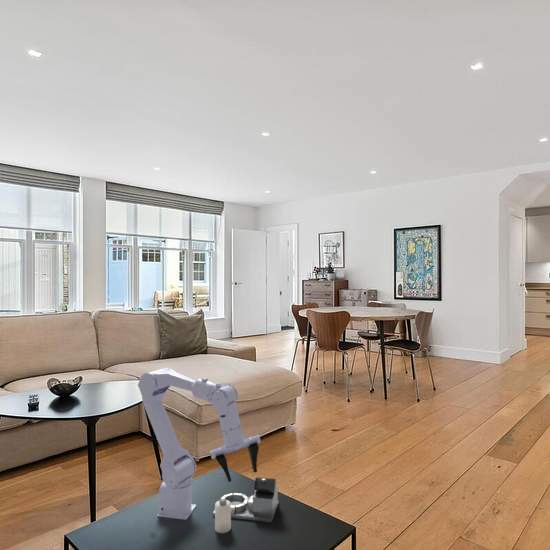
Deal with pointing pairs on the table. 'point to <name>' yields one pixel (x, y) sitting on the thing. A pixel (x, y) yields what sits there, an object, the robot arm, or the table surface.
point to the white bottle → (222, 516)
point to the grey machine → (255, 502)
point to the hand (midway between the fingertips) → (242, 476)
